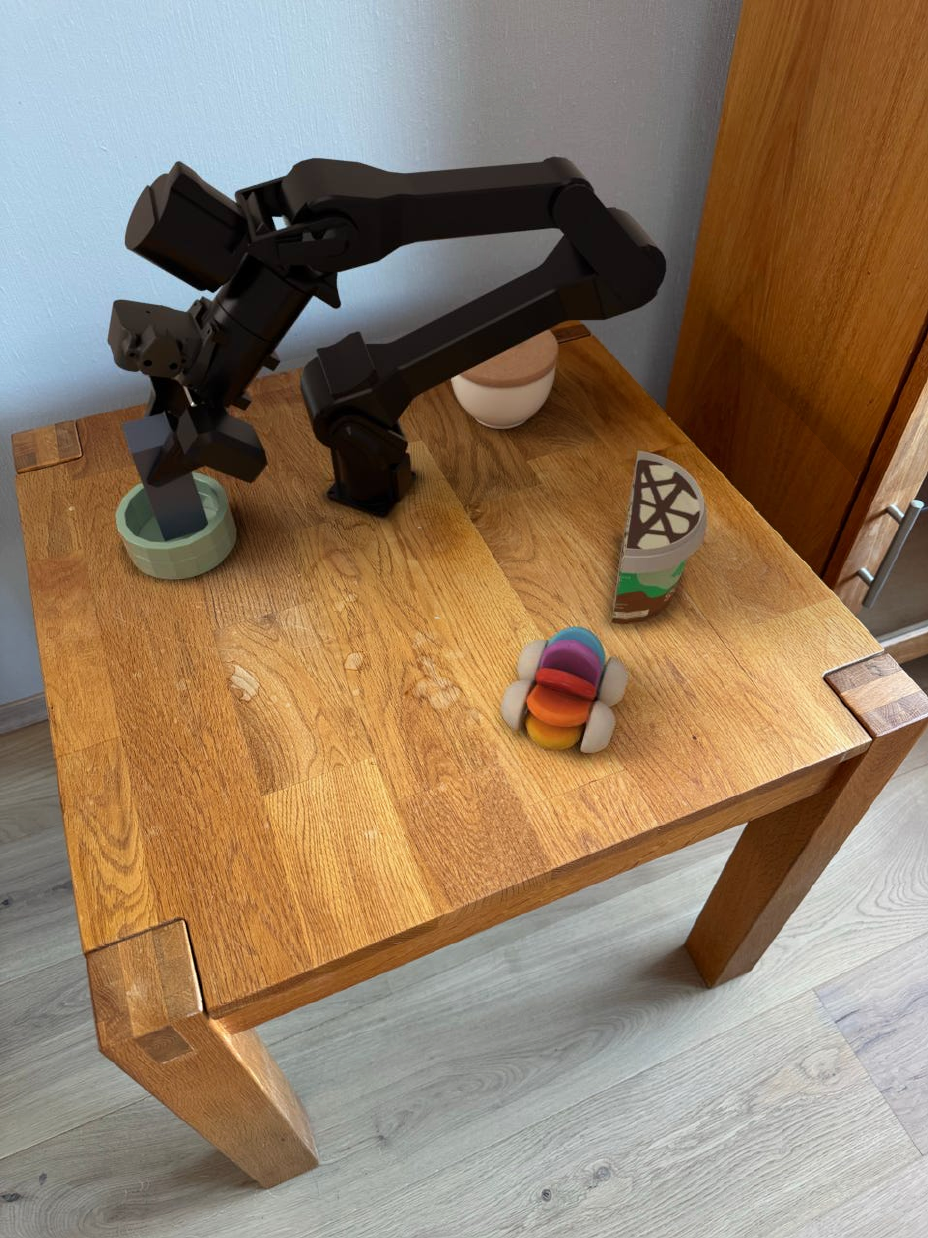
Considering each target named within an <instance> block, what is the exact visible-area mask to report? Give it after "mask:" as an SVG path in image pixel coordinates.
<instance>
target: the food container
mask: <svg viewBox="0 0 928 1238" xmlns="http://www.w3.org/2000/svg"><path fill="white" fill-rule="evenodd" d="M707 522H708V521H707V505H706V501H705V497H704V495H703V492H702V490H701V487H700V485H699V484H698V482H697V481H696V480H695V478H694V477H693V476H692V474H690V473H689V472H688V471H687V470H686V469H685V468H684V467H682V466H680V465H679V464H678V463H676V462H674V461H672V460H670V459H669V458H667V457H664V456H662V455H659V454H656V453H651V452H648V451H643V450H637V454H636V459H635V464H634V472H633V477H632V483H631V489H630V495H629V500H628V505H627V511H626V517H625V523H624V529H623V534H622V540H621V546H620V553H619V562H618V567H617V568H618V569H617V576H616V583H615V584H616V585H615V591H614V592H615V593H614V599H613V607H612V614H611V621H610V623H611V624H621V625H622V624H623V625H625V624H632V623H633V624H635V623H641V622H642V623H643V622H645V621H648V620H649V619H652V618H654V617H656V616H658V615H660V614H661V613H662V612H663V611H664V610H666V608H667V607H669V605H670V603H671V601H672V599H673V597H674V595H675V592H676V590H677V588H678V585H679V582H680V579H681V576H682V574H683V571H684V569H685V566H686V563H687V561H688V559H689V558H690V557H692V555H694V553H696V552H697V551H698V549H699V548H700V547H701V545H702V544H703V542H704V540H705V539H704V538H705V537H706V532H707V528H708V527H707V526H708V525H707V524H708V523H707Z"/></svg>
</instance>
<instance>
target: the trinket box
mask: <svg viewBox="0 0 928 1238" xmlns="http://www.w3.org/2000/svg"><path fill="white" fill-rule="evenodd" d="M558 358H559V343H558V341H557V338H556V336H555V335H554V334H553V333H552V331H551V330H550V329H548V330H546V331H544V332H542V333H540V334H538V335H536V336H535V337H533V338H531V339H529V340H527V341H525V342H523V343H521V344H519V345H517V346H515V347H513V348H511V349H509V350H507V351H505V352H503V353H501V354H499V355H497V356H495V357H493V358H491V359H489V360H487V361H485V362H483V363H481V364H479V365H477V366H475V367H473V368H471V369H469V370H467V371H465V372H463V373H461V374H460V375H458V376H456V377H454V378H452V379H450V383H451V385H452V390H453V393H454V396H455V398H456V399H457V401H458V403H459V404H460V406H461V407H462V408H463V409H464V411H465V412H466V413H468V414H469V415H470V416H471V417H472V418H474V419H475V421H477V422H478V423H479V424H481V425H483V426H485V427H488V428H492V429H496V430H498V429H499V430H504V429H505V430H506V429H512V428H516V427H518V426H520V425H522V424H524V423H525V422H527V420H528V419H530V418H531V417H533V416H534V415H535V414H536V413H538V411H540V409H541V408H542V407H543V406H544V404H545V403H546V401H547V399H548V398H549V396H550V393H551V390H552V388H553V384H554V381H555V380H554V379H555V376H556V368H557V362H558Z"/></svg>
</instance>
